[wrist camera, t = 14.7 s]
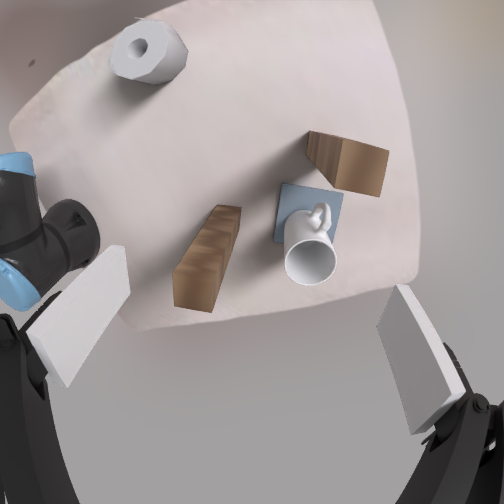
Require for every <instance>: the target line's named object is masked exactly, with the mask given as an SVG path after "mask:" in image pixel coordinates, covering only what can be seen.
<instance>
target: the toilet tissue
mask: <svg viewBox="0 0 504 504" xmlns="http://www.w3.org/2000/svg"><path fill="white" fill-rule="evenodd" d="M140 19H144V18H140ZM147 20H148V21H147ZM152 21H153V22H152ZM187 55H188V49H187V48H186V46H185V44H184V43H183V41H182V39H181V38H180V36H179V34H178V33H177V31H176V29H175V28H174V27H173V26H171V25H169V24H168V23H166V22H164V21H159V20H152V19H144V20H143V21H140V22H138V23H135V24H133V25H131V26H128V27H126V28H125V29H124V30H123V31H122V33H121V34H120V35H119V36H118V37H117V39H116V40H115V41H114V42H113V44H112V49H111V54H110V58H109V62H110V64H111V66H112V68H113V70H114V72H115V74H116V75H118V76H121V77H125V78H128V79H131V80H136V81H141V82H145V83H150V84H154V85H158V84H161V83H164V82H168V81H171V80H173V79H174V78H175V77H176V76H177V75H178V74H179V73H180V72H181V71H182V70H183V69H184V68H185V65H186V60H187Z"/></svg>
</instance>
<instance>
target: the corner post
mask: <svg viewBox="0 0 504 504" xmlns="http://www.w3.org/2000/svg"><path fill="white" fill-rule="evenodd" d="M240 216H241V207H234V206H226V205H217V206H216V208H215V209H214V210H213V212H212V213H211V215H210V216H209V218H208V219H207V221H206V222H205V224H204V225H203V227H202V228H201V230H200V231H199V233H198V234H197V236H196V237H195V239H194V240H193V242H192V244H191V245H190V247H189V248H188V250H187V251H186V253H185V254H184V256H183V258H182V259H181V261H180V262H179V264H178V265H177V267H176V269H175V270H174V272H173V273H172V277H173V295H174V306H175V307H181V308H186V309H192V310H197V311H203V312H209V313H212V311H213V308H214V305H215V302H216V298H217V295H218V292H219V289H220V286H221V283H222V280H223V277H224V274H225V271H226V268H227V265H228V262H229V259H230V256H231V253H232V250H233V247H234V244H235V241H236V238H237V235H238V232H239V226H240Z"/></svg>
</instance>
